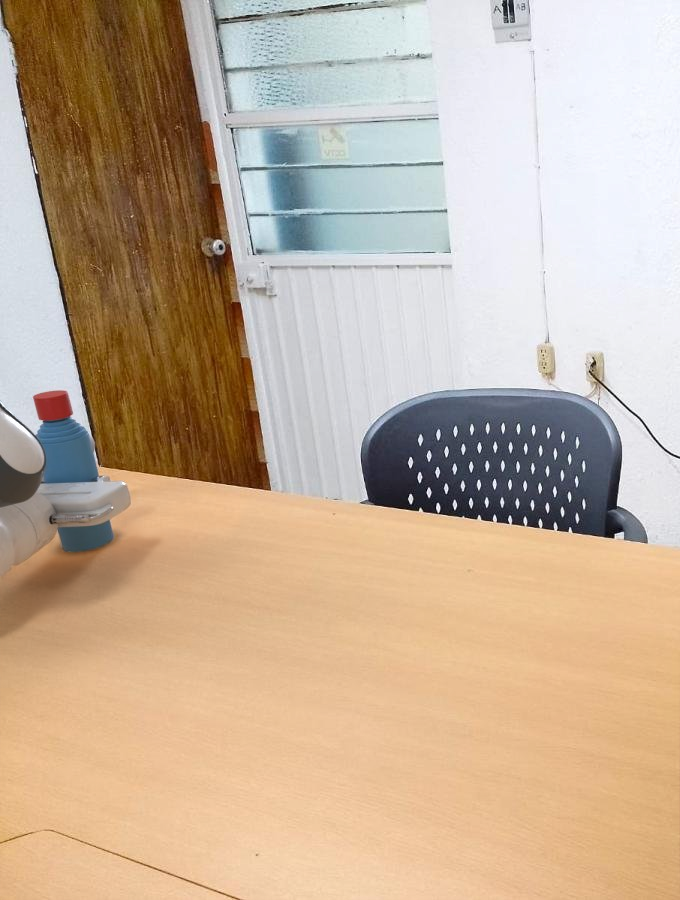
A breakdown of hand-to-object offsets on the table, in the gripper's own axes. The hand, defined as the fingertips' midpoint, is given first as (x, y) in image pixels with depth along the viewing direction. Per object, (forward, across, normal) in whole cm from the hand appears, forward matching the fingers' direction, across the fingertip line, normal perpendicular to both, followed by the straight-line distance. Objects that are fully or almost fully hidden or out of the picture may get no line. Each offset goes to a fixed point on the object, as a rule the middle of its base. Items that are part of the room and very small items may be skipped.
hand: (76, 481), depth 116 cm
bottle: (-1, 0, +9) cm, 9 cm away
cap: (-1, 0, -10) cm, 10 cm away
